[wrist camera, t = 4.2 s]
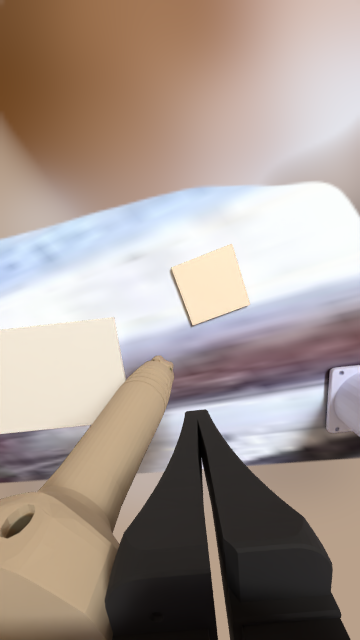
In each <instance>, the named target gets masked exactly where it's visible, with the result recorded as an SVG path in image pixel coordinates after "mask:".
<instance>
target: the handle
mask: <svg viewBox="0 0 360 640" xmlns="http://www.w3.org/2000/svg"><path fill="white" fill-rule="evenodd" d="M172 370H173V364H172V362H169V361H166V360H165V359H163V357H162V356H155V357H154V358H153V359H152V360H151V361H147V362H146V363H144V364H143V365H142V366H141V367H139V368H138V369H137V370H136V371H135V372H134V373H133V374H132V375H130V376H129V377H128V379H127V380H126V381H125V382H124V383H123V384H122V385H121V386H120V388H119V389H118V390H117V391H116V393H115V394H114V395H113V397H112V398H111V399H110V401H109V402H108V403H107V405H106V406H105V408H104V409H103V410H102V412H101V413H100V414H99V416H98V417H97V418H96V420H95V421H94V422H93V424H92V425H91V426H90V428H89V429H88V430H87V432H86V433H85V434H84V436H83V437H82V438H81V440H80V441H79V442H78V443H77V445H76V446H75V447H74V449H73V450H72V451H71V453H70V454H69V455H68V457H67V458H66V459H65V460H64V462H63V463H62V464H61V466H60V467H59V468H58V470H57V471H56V472H55V473H54V474H53V475H52V476H51V477H50V478H49V480H48V481H47V482H46V483H45V484H44V485H43V486H42V487H41V488H40V490H39V491H38V492H28V493H23V494H18V495H13V496H10V497H6V498H3V499H0V640H112V637H113V632H112V628H111V625H110V622H109V618H108V615H107V612H106V608H105V596H106V592H107V587H108V583H109V579H110V574H111V570H112V566H113V563H114V560H115V557H116V554H117V551H118V548H119V545H120V544H119V543H118V542H117V540H116V539H115V537H114V536H113V534H112V533H113V530H114V527H115V524H116V521H117V518H118V515H119V512H120V509H121V506H122V504H123V502H124V500H125V497H126V495H127V492H128V491H129V488H130V486H131V484H132V482H133V479H134V477H135V475H136V473H137V471H138V468H139V466H140V464H141V462H142V459H143V457H144V455H145V453H146V451H147V449H148V447H149V444H150V442H151V440H152V438H153V436H154V434H155V432H156V430H157V427H158V425H159V423H160V421H161V419H162V417H163V414H164V412H165V409H166V406H167V403H168V400H169V397H170V393H171V388H172V382H173V379H174V373H173V371H172Z"/></svg>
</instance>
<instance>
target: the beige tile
mask: <svg viewBox="0 0 360 640" xmlns="http://www.w3.org/2000/svg"><path fill="white" fill-rule="evenodd" d="M171 269H172V271H173V274H174V277H175V279H176V282H177V285H178V287H179V290H180V293H181V295H182V298H183V301H184V303H185V306H186V309H187V311H188V314H189V317H190V319H191V322H192V325H196V324H198V323H201V322H204V321H207V320H209V319H212V318H215V317H217V316H220V315H223V314H226V313H228V312H231V311H234V310H237V309H239V308H242V307H245V306H248V305H250V302H249V299H248V295H247V292H246V289H245V285H244V282H243V279H242V275H241V272H240V269H239V265H238V262H237V258H236V255H235V252H234V248H233V245H232V244H230V245H227V246H225V247H222V248H220V249H217V250H215V251H212V252H210V253H207V254H205V255H202V256H200V257H197V258H194V259H192V260H189V261H187V262H184V263H182V264H179V265H177V266H174V267H172V268H171Z"/></svg>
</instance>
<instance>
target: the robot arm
mask: <svg viewBox="0 0 360 640" xmlns="http://www.w3.org/2000/svg"><path fill="white" fill-rule="evenodd" d="M340 371H341V372H340ZM326 429H327V431H328V432H330V433H339V432H349V431H353V432H354V433H356V434H357V435H358V436H359V437H360V365H356V366H347V367H337V368H332V369H331V370H330V374H329V389H328V405H327V420H326ZM201 457H202V461H201ZM202 462H203V467H204V471H205V477H206V481H207V486H208V491H209V495H210V500H211V505H212V511H213V518H214V525H215V532H216V539H217V546H218V553H219V560H220V568H221V575H222V582H223V590H224V597H225V604H226V611H227V618H228V626H229V634H230V640H350V638H349V636H348V634H347V632H346V629H345V627H344V625H343V623H342V621H341V619H340V618H341V612H340V609H339V607H338V605H337V604H336V601H335V599H334V597H333V595H332V593H331V582H332V562H331V561H330V558H329V557H328V554H327V552H326V551H325V549H324V547H323V545H322V544H321V542H320V540H319V539H318V537H317V536H316V534H315V533H314V531H313V530H312V528H311V527H310V525H309V524H308V522H307V521H306V520H305V518H304V517H303V516H302V515H300V514H299V513H298V512H297V511H295V510H294V509H293V508H292V507H290V506H289V505H288V504H286V503H285V502H284V501H283V500H281V499H280V498H279V497H278V496H277V495H276V494H275V493H273V492H272V491H271V490H270V489H269V488H268V487H267V486H266V485H265V484H264V483H263V482H262V481H260V480H259V478H258V477H256V476H255V475H254V474H253V473H252V472H251V471H250V470H249V469H248V467H247V466H246V465H245V464H244V463H243V462H242V461H241V460H240V459H239V457H238V456H237V455H236V454H235V453H234V451H233V450H232V449H231V448H230V446H229V445H228V444H227V442H226V441H225V440H224V438H223V437H222V435H221V434H220V432H219V431H218V429H217V428H216V426H215V424H214V423H213V421H212V419H211V417H210V415H209V413H208V411H207V410H196V411H187V412H186V413H185V418H184V423H183V427H182V430H181V433H180V437H179V440H178V442H177V445H176V447H175V450H174V453H173V455H172V457H171V459H170V462H169V464H168V466H167V468H166V470H165V472H164V474H163V475H162V477H161V479H160V481H159V483H158V485H157V486H156V488H155V489H154V491H153V493H152V494H151V496H150V497H149V499H148V500H147V502H146V503H145V505H144V506H143V508H142V509H141V511H140V512H139V513H138V515H137V516H136V517H135V519H134V520H133V522H132V523H131V524H130V526H129V527H128V528H127V530H126V531H125V532H124V534H123V537H122V539H121V542H120V545H119V548H118V551H117V554H116V557H115V560H114V563H113V566H112V570H111V574H110V579H109V583H108V587H107V592H106V596H105V608H106V612H107V615H108V618H109V622H110V625H111V628H112V632H113V637H112V640H218V636H217V626H216V617H215V608H214V599H213V590H212V581H211V570H210V561H209V552H208V543H207V535H206V526H205V516H204V506H203V487H202V486H203V485H202Z"/></svg>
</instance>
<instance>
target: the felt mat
mask: <svg viewBox="0 0 360 640" xmlns="http://www.w3.org/2000/svg"><path fill="white" fill-rule="evenodd" d="M125 381H126V377H125V371H124V366H123V361H122V355H121V350H120V345H119V340H118V334H117V329H116V324H115V318H114V317H111V318H102V319H93V320H84V321H75V322H66V323H57V324H48V325H39V326H30V327H20V328H11V329H2V330H0V434H4V433H14V432H24V431H34V430H44V429H54V428H64V427H74V426H85V425H92V424H93V422H94V421H95V420H96V418H97V417H98V416H99V414H100V413H101V412H102V410H103V409H104V408H105V406H106V405H107V403H108V402H109V401H110V399H111V398H112V397H113V395H114V394H115V393H116V391H117V390H118V389H119V388H120V386H121V385H122V384H123V383H124V382H125Z"/></svg>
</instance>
